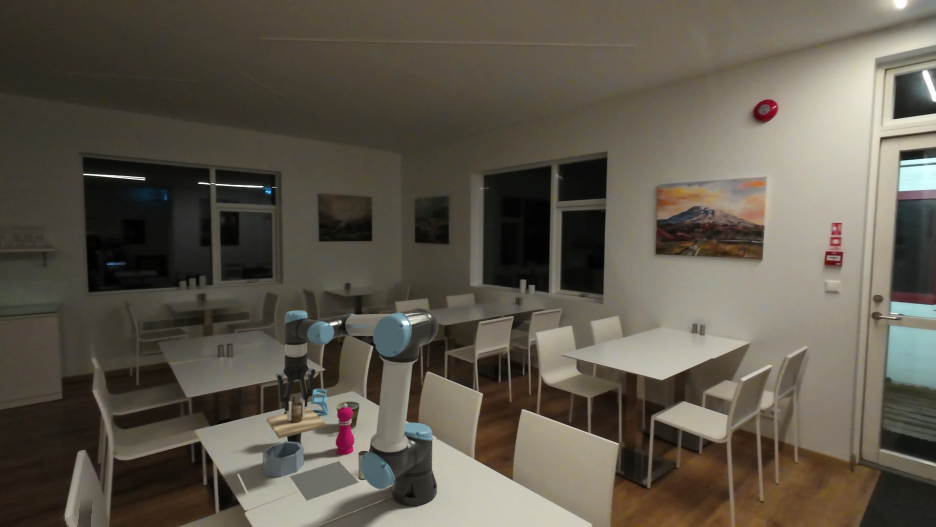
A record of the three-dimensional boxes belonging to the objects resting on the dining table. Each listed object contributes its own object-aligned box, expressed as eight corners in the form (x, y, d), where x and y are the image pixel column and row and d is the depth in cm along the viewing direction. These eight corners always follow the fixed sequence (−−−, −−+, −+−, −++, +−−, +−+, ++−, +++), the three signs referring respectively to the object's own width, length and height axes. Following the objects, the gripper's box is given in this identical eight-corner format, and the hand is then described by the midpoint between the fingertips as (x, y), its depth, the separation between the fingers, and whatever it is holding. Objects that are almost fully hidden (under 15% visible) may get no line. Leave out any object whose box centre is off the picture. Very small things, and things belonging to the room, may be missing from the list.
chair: (327, 417, 213) (327, 392, 212) (308, 417, 211) (308, 392, 211) (329, 410, 220) (329, 386, 219) (312, 411, 219) (312, 387, 218)
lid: (325, 426, 161) (325, 407, 161) (278, 438, 152) (278, 417, 151) (310, 411, 174) (310, 393, 173) (266, 421, 164) (266, 402, 164)
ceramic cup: (335, 424, 205) (334, 402, 204) (357, 420, 209) (357, 399, 208) (339, 436, 193) (339, 413, 192) (363, 432, 197) (363, 410, 196)
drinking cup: (307, 440, 189) (306, 393, 187) (298, 449, 181) (298, 400, 180) (290, 439, 189) (289, 392, 188) (280, 447, 182) (280, 399, 180)
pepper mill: (331, 454, 177) (331, 404, 176) (344, 446, 184) (344, 398, 182) (345, 458, 174) (345, 408, 173) (358, 450, 180) (358, 402, 179)
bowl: (307, 470, 165) (307, 451, 165) (269, 482, 157) (269, 462, 157) (296, 456, 176) (295, 438, 175) (260, 466, 168) (259, 448, 167)
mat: (358, 483, 157) (358, 482, 157) (306, 502, 146) (306, 500, 146) (338, 462, 171) (338, 461, 171) (290, 477, 160) (290, 476, 160)
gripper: (316, 348, 169) (315, 408, 171) (267, 355, 158) (268, 419, 160) (323, 353, 163) (322, 415, 165) (273, 360, 152) (273, 427, 154)
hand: (295, 417), depth 162 cm, fingers closed on lid, 4 cm apart
